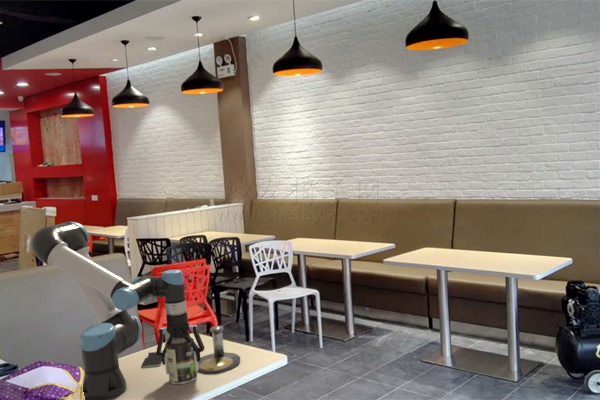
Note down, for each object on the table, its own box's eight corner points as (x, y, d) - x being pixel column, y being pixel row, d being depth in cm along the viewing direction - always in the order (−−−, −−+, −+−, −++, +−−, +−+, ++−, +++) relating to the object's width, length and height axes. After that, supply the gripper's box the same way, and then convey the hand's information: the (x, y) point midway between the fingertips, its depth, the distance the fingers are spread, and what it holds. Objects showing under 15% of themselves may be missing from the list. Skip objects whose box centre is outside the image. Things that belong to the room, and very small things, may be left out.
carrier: (189, 375, 205) (186, 344, 204) (198, 356, 224) (195, 327, 223) (238, 371, 205) (235, 340, 204) (242, 352, 224) (239, 324, 223)
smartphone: (140, 366, 216) (148, 352, 231) (141, 369, 216) (148, 355, 231) (160, 364, 217) (166, 350, 232) (160, 367, 217) (166, 353, 232)
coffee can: (201, 372, 206) (197, 336, 205) (190, 384, 196) (186, 346, 195) (176, 372, 208) (172, 336, 207) (164, 384, 198) (160, 346, 197)
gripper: (142, 318, 196) (149, 378, 198) (205, 312, 197) (211, 372, 198) (148, 312, 204) (154, 370, 206) (208, 306, 204) (214, 364, 206)
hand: (182, 371), depth 202 cm, fingers closed on coffee can, 10 cm apart
